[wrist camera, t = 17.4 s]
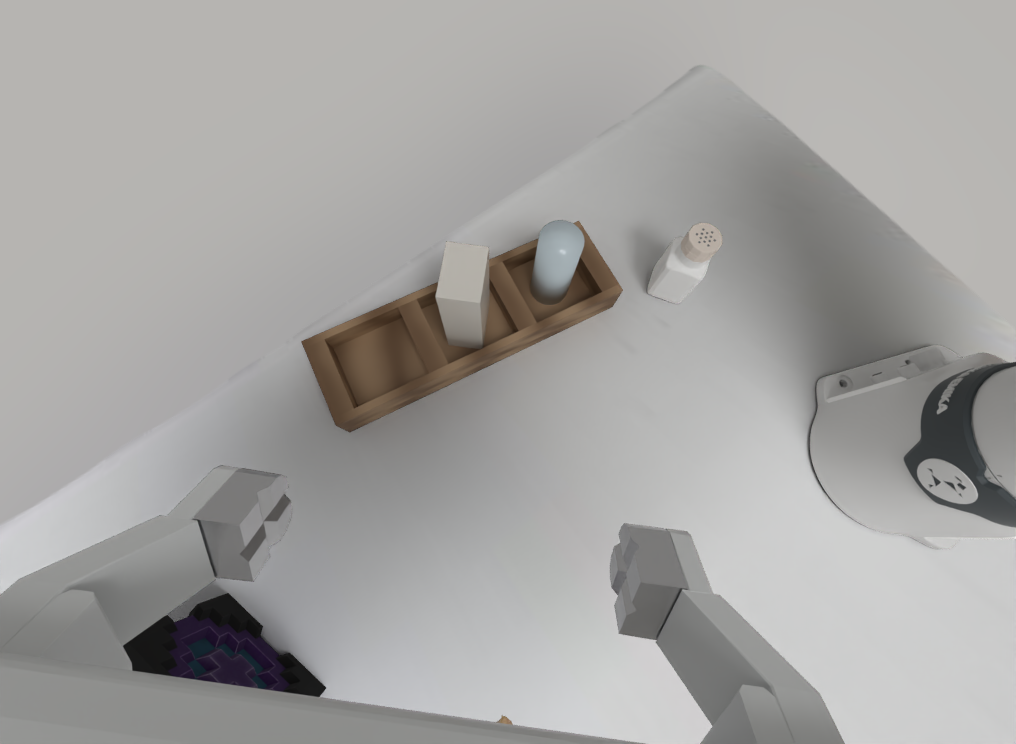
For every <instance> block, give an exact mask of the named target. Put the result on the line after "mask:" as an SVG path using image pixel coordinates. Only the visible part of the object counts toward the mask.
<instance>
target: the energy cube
mask: <svg viewBox="0 0 1016 744" xmlns="http://www.w3.org/2000/svg"><path fill="white" fill-rule="evenodd" d="M262 627H263V626H262V625H261V624H260V623H259V622H258V621H257V620H255V619H254V618H253V617H252V616H251V615H250V614H249V613H248V612H247V611H246V610H245V609H244V608H243V607H242V606H241V605H240V604H239V603H238V602H237V601H236V600H235V599H234V598H233V597H232V596H231V595H230V594H229V593H227V594H225V595H222V596H219V597H216V598H213V599H211V600H208V601H205V602H202V603H200V604H197V605H196V606H195V608H194V609H193V610H192V611H191V612H190V614H189V616H188V617H187V618H184V619H182V620H179V621H177V622H174V621H173V620H172V619H171V618H170V617H169V616H168V615H166V616H164V617H162V618H161V619H160V620H158V621H157V622H155V623H154V624H153V625H151V626H150V627H148V628H147V629H146V630H144V631H143V632H141V633H140V634H139V635H137V636H136V637H134V638H133V639H132V640H130V641H129V642H127V643H126V644H124V645H123V648H124V650H125V651H126V653H127V655H128V657H129V659H130V661H131V663H132V671H138V672H145V673H152V674H159V675H166V676H173V677H180V678H187V679H194V680H202V681H209V682H216V683H223V684H230V685H237V686H244V687H251V688H258V689H265V690H272V691H279V692H286V693H293V694H300V695H307V696H314V697H320V695H321V694H322V693H323V692H324V690H325V689H326V687H325V686H324V685H323V684H322V683H321V682H320V681H319V680H317V679H316V678H315V677H314V676H313V675H312V674H311V673H310V672H309V671H308V670H307V669H306V668H305V667H304V666H303V665H302V664H301V663H300V662H299V661H298V660H297V659H296V658H295V657H294V656H293V655H292V654H290V653H288V654H284V655H279V654H278V653H277V652H275V651H274V650H273V649H272V648H271V647H270V646H269V645H268V644H267V643H266V642H265V641H264V640H263V639H262V638H261V637H260V634H261V631H262Z"/></svg>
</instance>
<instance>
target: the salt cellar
mask: <svg viewBox="0 0 1016 744" xmlns="http://www.w3.org/2000/svg"><path fill="white" fill-rule="evenodd" d="M584 242H585V241H584V236H583V233H582V231H581V230H580V229H579V228H578V227H577V226H576V225H574V224H573V223H571V222H568V221H563V220H558V221H553V222H550V223H548V224H547V225H545V226H544V227H543V229H542V230H541V232H540V234H539V239H538V245H537V251H536V256H535V262H534V267H533V273H532V279H531V284H530V290H531V294H532V296H533V297H534V298H535V300H537V301H538V302H539V303H541V304H544V305H555V304H558V303H560V302H561V301H562V300H563V299H564V298H565V296H566V294H567V292H568V289H569V286H570V283H571V280H572V278H573V275H574V272H575V269H576V267H577V264H578V261H579V258H580V256H581V253H582V250H583V247H584Z"/></svg>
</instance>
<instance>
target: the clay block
mask: <svg viewBox="0 0 1016 744" xmlns="http://www.w3.org/2000/svg"><path fill="white" fill-rule="evenodd" d="M436 301H437V304H438V308H439V312H440V315H441V319H442V323H443V326H444V330H445V333H446V337H447V341H448V344H449V345H452V346H459V347H467V348H475V349H482V348H483V345H484V338H485V332H486V325H487V318H488V312H489V305H490V301H489V247H485V246H478V245H470V244H462V243H455V242H447V241H446V245H445V250H444V255H443V260H442V266H441V271H440V276H439V281H438V287H437V292H436Z"/></svg>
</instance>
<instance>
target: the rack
mask: <svg viewBox="0 0 1016 744" xmlns="http://www.w3.org/2000/svg"><path fill="white" fill-rule="evenodd" d="M573 224H574V225H576V226H577V227H578V228H579V229H580V230H581V231H582V233H583V236H584V241H585V242H584V247H583V250H582V253H581V256H580V258H579V261H578V264H577V267H576V269H575V272H574V275H573V278H572V280H571V283H570V286H569V289H568V292H567V294H566V296H565V298H564V299H563V300H562V301H561V302H560V303H558V304H555V305H544V304H541V303H539V302H538V301H537V300H535V298H534V297H533V296H532V294H531V290H530V284H531V279H532V273H533V267H534V262H535V256H536V251H537V245H538V239H539V238H538V239H536V240H534V241H531V242H529V243H527V244H525V245H522V246H520V247H518V248H515V249H513V250H511V251H508V252H506V253H504V254H502V255H499V256H497V257H495V258H492V259H490V260H489V301H490V305H489V312H488V318H487V325H486V332H485V338H484V345H483V348H482V349H475V348H467V347H459V346H452V345H449V344H448V341H447V337H446V333H445V330H444V326H443V323H442V319H441V315H440V312H439V308H438V304H437V301H436V292H437V287H438V282H437V283H435V284H432V285H430V286H428V287H426V288H423V289H421V290H419V291H416V292H414V293H412V294H409V295H407V296H405V297H403V298H400V299H398V300H396V301H393V302H391V303H389V304H386V305H384V306H382V307H380V308H377V309H375V310H373V311H370V312H368V313H366V314H363V315H361V316H359V317H357V318H354V319H352V320H350V321H347V322H345V323H343V324H340V325H338V326H336V327H334V328H331V329H329V330H327V331H324V332H322V333H320V334H317V335H315V336H313V337H311V338H308V339H306V340H304V341H301V342H302V344H303V347H304V349H305V352H306V354H307V357H308V359H309V361H310V364H311V366H312V369H313V371H314V374H315V376H316V378H317V381H318V383H319V386H320V388H321V390H322V393H323V395H324V398H325V400H326V403H327V405H328V407H329V410H330V412H331V415H332V417H333V420H334V422H335V424H336V426H338V427H340V428H342V429H344V430H346V431H348V432H351V431H354V430H356V429H358V428H360V427H362V426H364V425H366V424H368V423H370V422H372V421H374V420H377V419H379V418H381V417H383V416H385V415H387V414H389V413H391V412H393V411H395V410H397V409H400V408H402V407H404V406H406V405H408V404H410V403H412V402H414V401H416V400H418V399H421V398H423V397H425V396H427V395H429V394H431V393H433V392H435V391H437V390H439V389H441V388H444V387H446V386H448V385H450V384H452V383H454V382H456V381H458V380H460V379H462V378H464V377H467V376H469V375H471V374H473V373H475V372H477V371H479V370H481V369H483V368H485V367H487V366H490V365H492V364H494V363H496V362H498V361H500V360H502V359H504V358H506V357H508V356H510V355H513V354H515V353H517V352H519V351H521V350H523V349H525V348H527V347H529V346H531V345H534V344H536V343H538V342H540V341H542V340H544V339H546V338H548V337H550V336H552V335H554V334H557V333H559V332H561V331H563V330H565V329H567V328H569V327H571V326H573V325H575V324H577V323H580V322H582V321H584V320H586V319H588V318H590V317H592V316H594V315H596V314H598V313H600V312H603V311H605V310H607V309H609V308H611V307H613V305H614V303H615V302H616V300H617V299H618V297H619V296H620V294H621V292H622V291H623V289H622V288H621V286H620V285H619V283H618V282H617V280H616V278H615V277H614V275H613V274H612V272H611V271H610V269H609V267H608V266H607V264H606V263H605V261H604V260H603V258H602V256H601V255H600V253H599V252H598V250H597V249H596V247H595V245H594V244H593V242H592V241H591V239H590V237H589V236H588V234H587V233H586V231H585V230H584V228H583V226H582V225H581V223H580V222H579V221H577V222H575V223H573Z"/></svg>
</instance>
